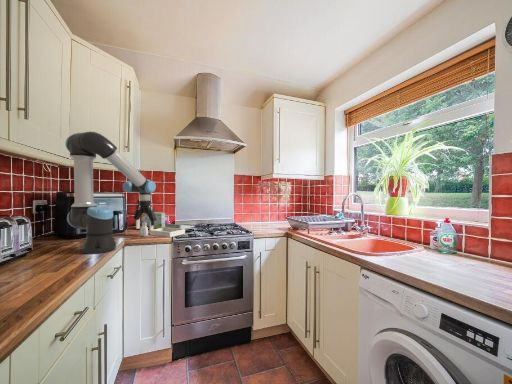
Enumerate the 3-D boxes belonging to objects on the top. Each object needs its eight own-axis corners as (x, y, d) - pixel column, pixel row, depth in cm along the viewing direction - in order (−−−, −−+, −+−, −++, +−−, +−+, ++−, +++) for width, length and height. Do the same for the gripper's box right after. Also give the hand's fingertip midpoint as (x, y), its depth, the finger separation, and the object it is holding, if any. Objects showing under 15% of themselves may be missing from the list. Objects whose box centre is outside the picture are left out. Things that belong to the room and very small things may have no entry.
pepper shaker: (144, 236, 161) (144, 223, 161) (139, 236, 162) (140, 223, 162) (148, 235, 165) (148, 222, 165) (143, 235, 166) (144, 222, 166)
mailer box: (170, 237, 160) (170, 232, 160) (149, 234, 168) (149, 230, 168) (184, 233, 175) (185, 229, 175) (165, 231, 183) (165, 227, 183)
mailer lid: (181, 229, 172) (181, 225, 172) (162, 227, 179) (162, 223, 179) (194, 226, 186) (195, 223, 186) (176, 225, 194) (176, 221, 194)
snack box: (140, 229, 192) (141, 211, 192) (145, 228, 198) (146, 211, 198) (161, 230, 186) (161, 212, 186) (165, 229, 191) (166, 212, 192)
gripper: (161, 200, 162) (161, 229, 162) (137, 199, 172) (136, 227, 172) (153, 201, 155) (153, 231, 155) (128, 200, 165) (127, 228, 165)
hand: (144, 229), depth 164 cm, fingers open, 13 cm apart
